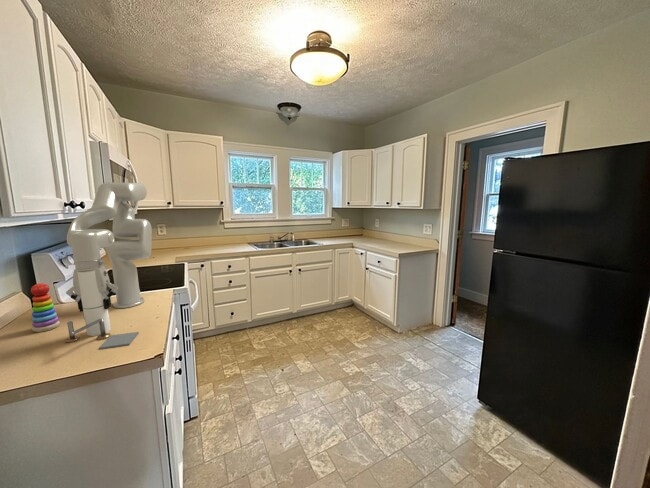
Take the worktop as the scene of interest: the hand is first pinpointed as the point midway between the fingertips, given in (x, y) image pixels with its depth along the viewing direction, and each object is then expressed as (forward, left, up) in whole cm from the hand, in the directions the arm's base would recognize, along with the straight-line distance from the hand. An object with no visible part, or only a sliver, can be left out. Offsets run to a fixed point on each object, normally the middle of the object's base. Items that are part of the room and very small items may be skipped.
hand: (95, 308), depth 105 cm
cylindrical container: (0, 0, -9) cm, 9 cm away
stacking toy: (-10, -22, -10) cm, 26 cm away
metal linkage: (+10, -1, -9) cm, 14 cm away
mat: (+11, +11, -9) cm, 18 cm away
